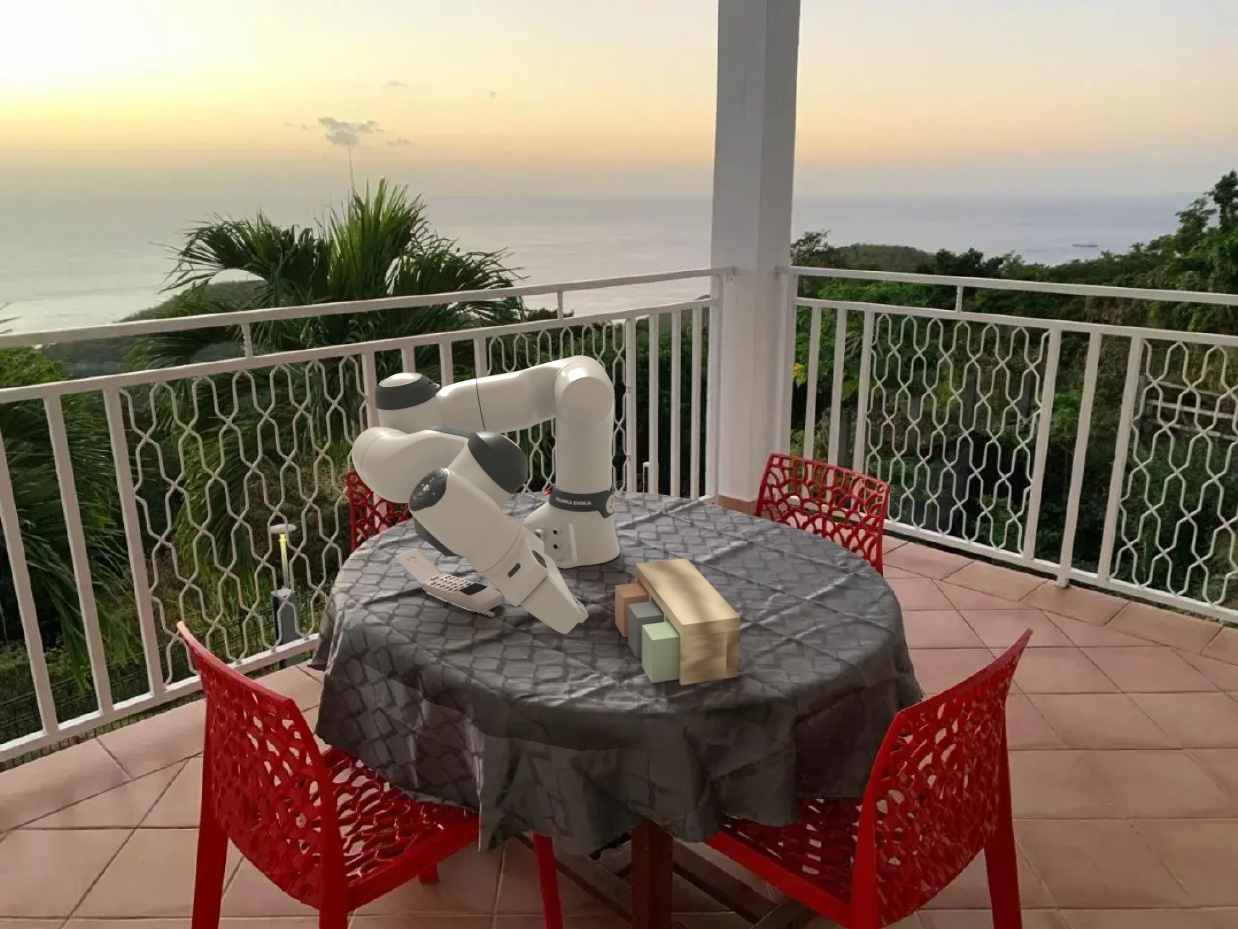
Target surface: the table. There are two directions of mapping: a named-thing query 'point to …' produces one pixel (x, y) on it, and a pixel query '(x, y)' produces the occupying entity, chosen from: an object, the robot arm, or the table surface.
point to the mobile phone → (449, 584)
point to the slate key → (641, 623)
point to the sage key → (661, 652)
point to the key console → (694, 619)
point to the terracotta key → (624, 597)
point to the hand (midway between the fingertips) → (583, 615)
